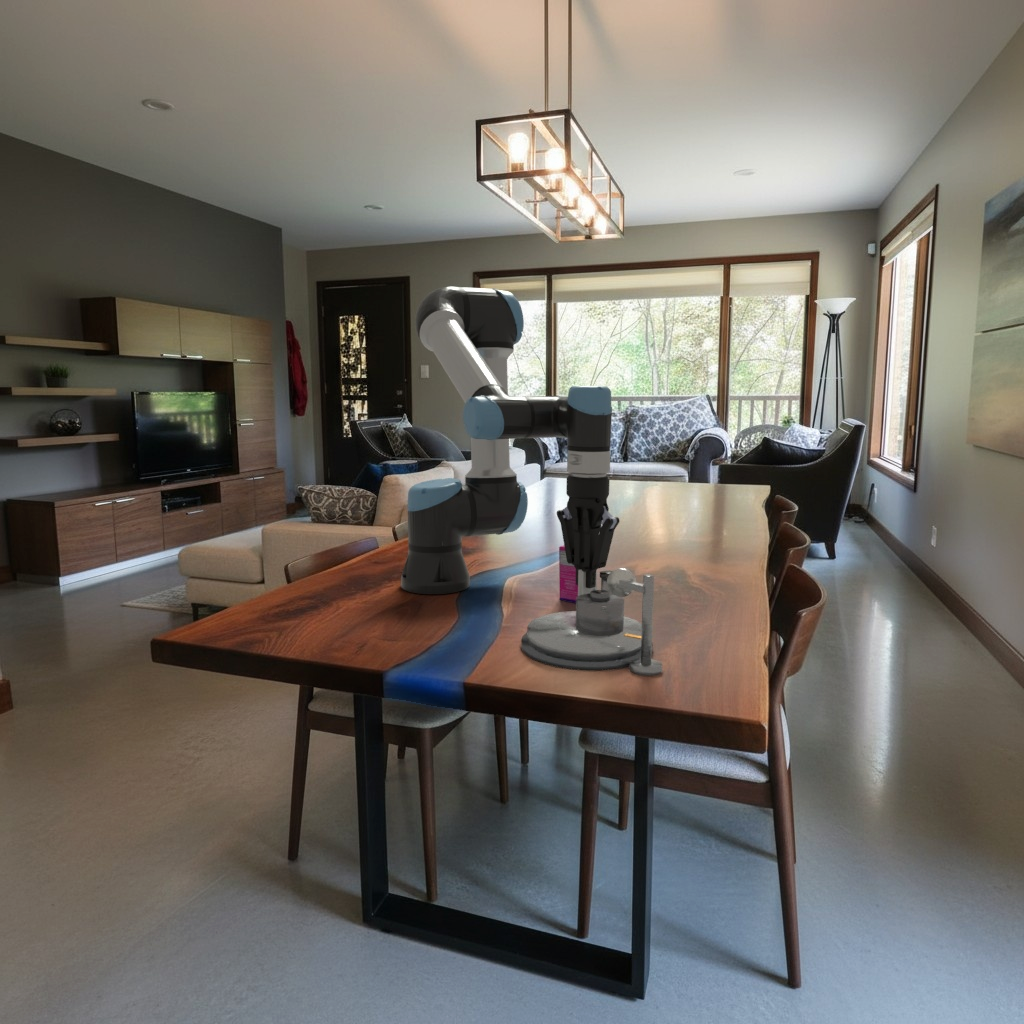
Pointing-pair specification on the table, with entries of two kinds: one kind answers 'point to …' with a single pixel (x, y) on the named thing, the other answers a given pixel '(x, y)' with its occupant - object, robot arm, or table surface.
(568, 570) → the supplement box
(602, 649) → the turntable
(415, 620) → the table surface
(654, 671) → the metal lever handle
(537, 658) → the base
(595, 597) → the cover
